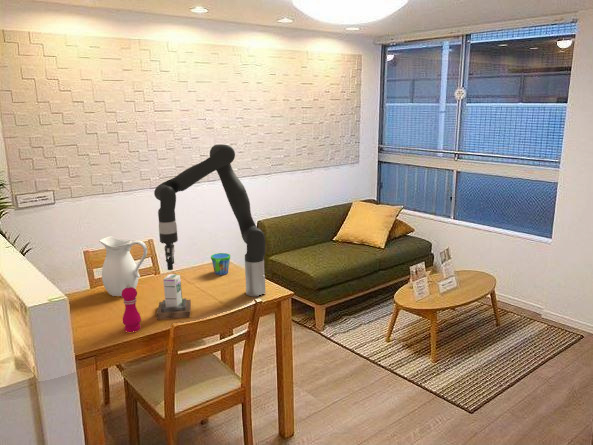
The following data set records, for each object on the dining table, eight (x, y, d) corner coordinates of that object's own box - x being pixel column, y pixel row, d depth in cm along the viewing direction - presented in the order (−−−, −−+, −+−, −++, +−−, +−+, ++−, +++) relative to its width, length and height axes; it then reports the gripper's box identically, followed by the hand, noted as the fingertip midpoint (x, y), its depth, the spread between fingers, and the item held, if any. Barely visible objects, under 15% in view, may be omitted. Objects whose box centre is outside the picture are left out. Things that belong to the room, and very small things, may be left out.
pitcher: (96, 297, 238) (90, 242, 232) (116, 285, 254) (111, 233, 247) (140, 301, 232) (135, 245, 226) (158, 289, 248) (154, 236, 242)
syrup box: (178, 309, 216) (175, 278, 213) (165, 309, 217) (162, 278, 214) (183, 304, 222) (180, 274, 219) (170, 304, 223) (168, 273, 220)
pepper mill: (135, 324, 208) (131, 279, 204) (145, 328, 204) (141, 283, 199) (120, 330, 203) (115, 284, 198) (129, 335, 198) (125, 288, 194)
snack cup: (217, 268, 280) (217, 251, 277) (235, 269, 277) (234, 252, 275) (206, 277, 265) (205, 259, 263) (225, 278, 263) (224, 260, 260)
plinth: (190, 304, 228) (190, 296, 227) (189, 316, 215) (189, 308, 214) (159, 307, 226) (159, 298, 225) (156, 319, 213) (156, 311, 212)
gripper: (176, 234, 205) (179, 271, 209) (177, 226, 219) (180, 261, 223) (157, 235, 204) (160, 272, 208) (160, 227, 218) (163, 262, 222)
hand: (171, 266), depth 215 cm, fingers open, 8 cm apart
